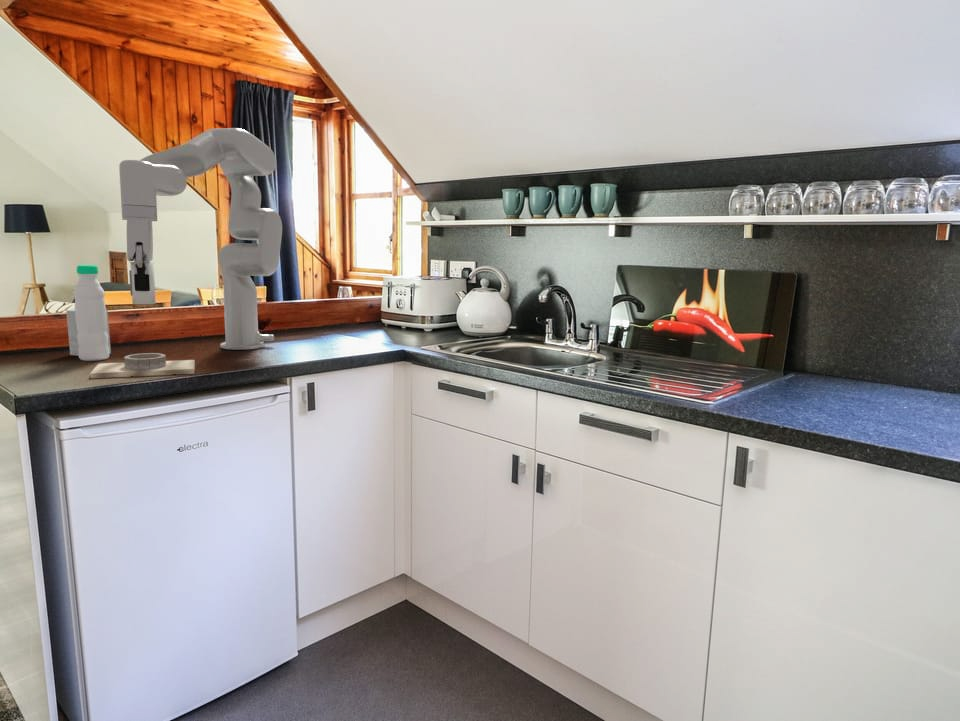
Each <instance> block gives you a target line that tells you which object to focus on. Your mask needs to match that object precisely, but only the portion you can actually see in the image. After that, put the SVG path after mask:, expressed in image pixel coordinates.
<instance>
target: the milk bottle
mask: <svg viewBox="0 0 960 721" xmlns="http://www.w3.org/2000/svg"><path fill="white" fill-rule="evenodd" d="M76 273H77V276H78V277H79V279H78V281H77V283H76V286H75V288H74V290H73V297H74V309H75V316H76V325H77V331H78V335H77V340H78V345H79V349H78V353H79V356H78V359H80V360H81V361H85V362H91V361H92V362H93V361H95V362H97V361H103V360H107V359H108V358H109V357H110V354H109V348H108V335H107V332H106V330H107V320H106V302H105V294H106V293H105V291H104V288H103V287H102V286H101V284H100V282H99V280H98V278H97V276H98V274H99V269H98V266H97V265H93V264H79V265H77V266H76Z"/></svg>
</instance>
